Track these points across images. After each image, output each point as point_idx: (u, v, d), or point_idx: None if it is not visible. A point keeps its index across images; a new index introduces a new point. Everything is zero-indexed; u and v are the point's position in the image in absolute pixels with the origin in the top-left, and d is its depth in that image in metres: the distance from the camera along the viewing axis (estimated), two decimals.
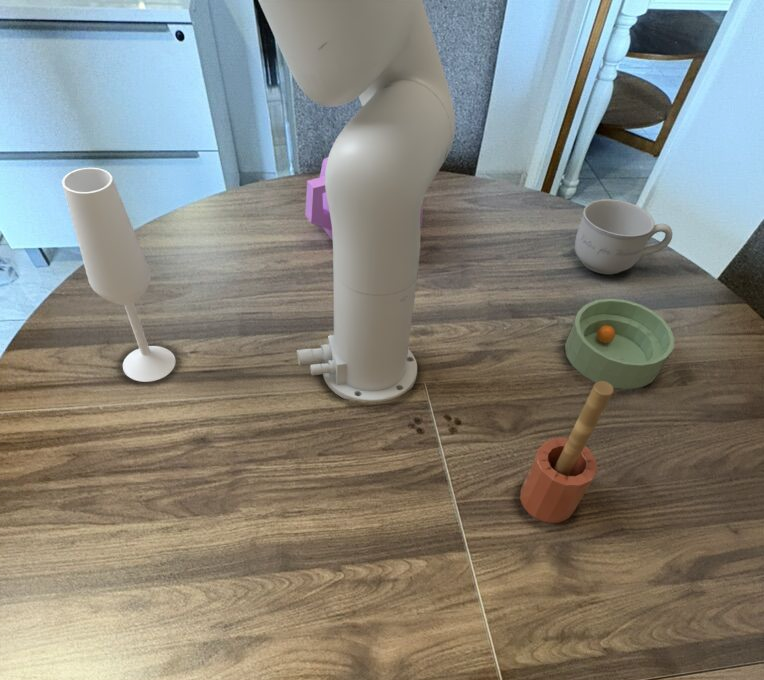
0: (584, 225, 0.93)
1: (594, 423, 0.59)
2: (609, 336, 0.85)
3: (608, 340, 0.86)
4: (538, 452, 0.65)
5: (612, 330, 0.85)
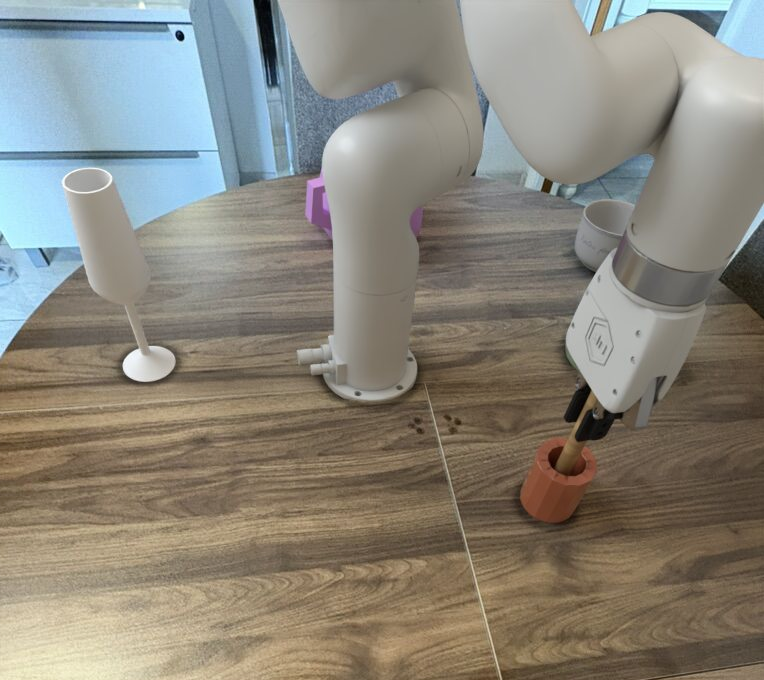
0: (584, 225, 0.93)
1: None
2: None
3: None
4: (538, 452, 0.65)
5: None
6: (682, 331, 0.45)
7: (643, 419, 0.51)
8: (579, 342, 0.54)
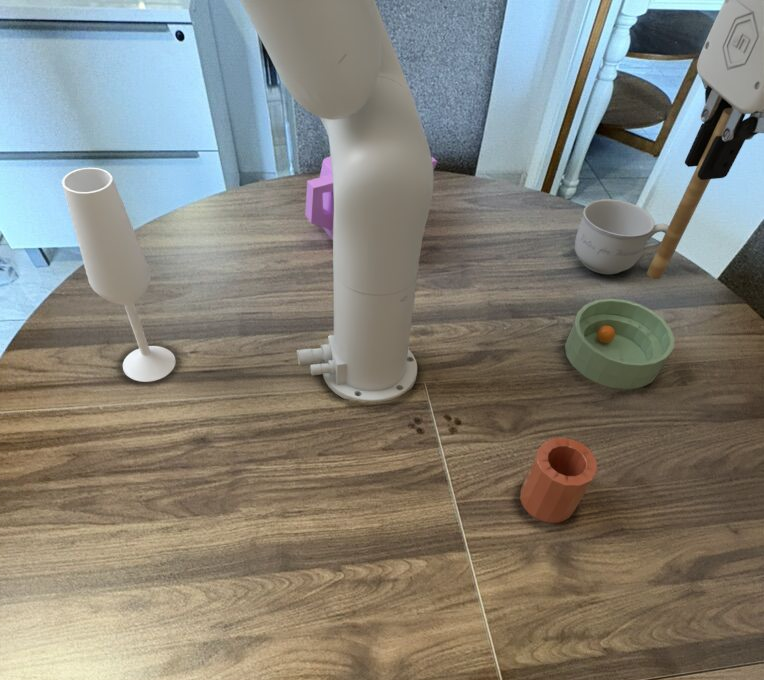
0: (584, 225, 0.93)
1: None
2: (609, 336, 0.85)
3: (608, 340, 0.86)
4: (538, 452, 0.65)
5: (612, 330, 0.85)
6: None
7: None
8: (714, 57, 0.57)
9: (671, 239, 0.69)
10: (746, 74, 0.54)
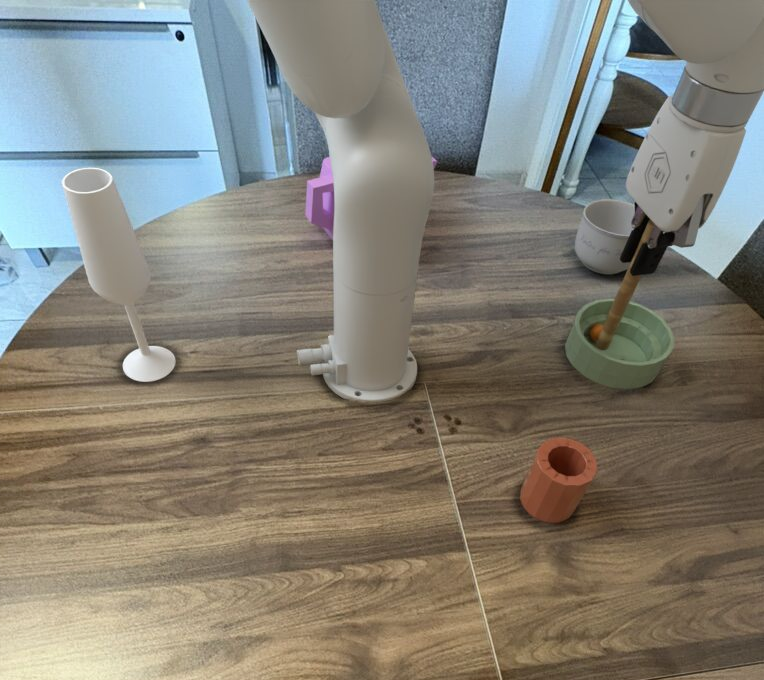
0: (584, 225, 0.93)
1: None
2: (597, 334, 0.85)
3: None
4: (538, 452, 0.65)
5: (597, 328, 0.85)
6: (727, 149, 0.58)
7: (692, 236, 0.65)
8: (639, 181, 0.67)
9: (613, 319, 0.80)
10: (662, 200, 0.64)
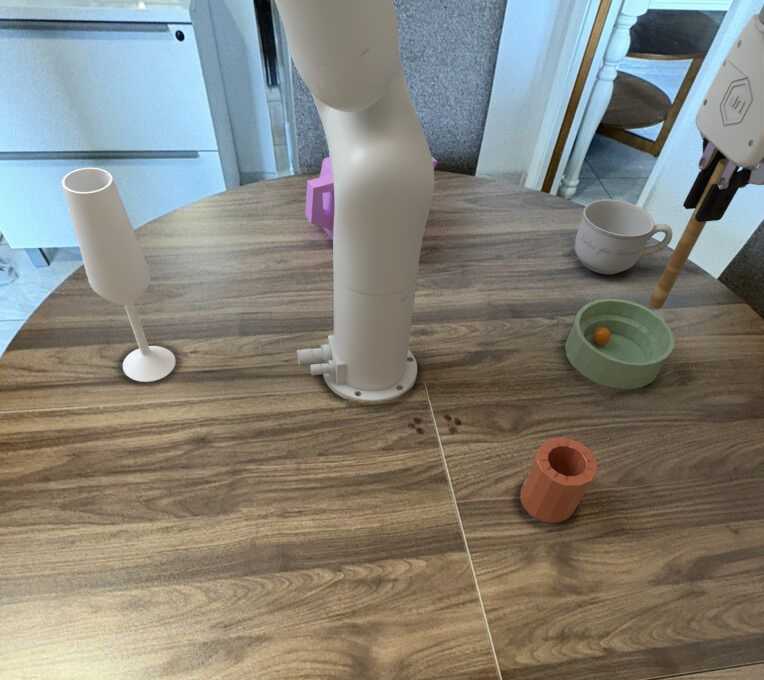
0: (584, 225, 0.93)
1: None
2: (601, 340, 0.85)
3: (601, 343, 0.86)
4: (538, 452, 0.65)
5: (604, 334, 0.85)
6: None
7: None
8: (712, 114, 0.62)
9: (671, 273, 0.75)
10: (741, 132, 0.59)
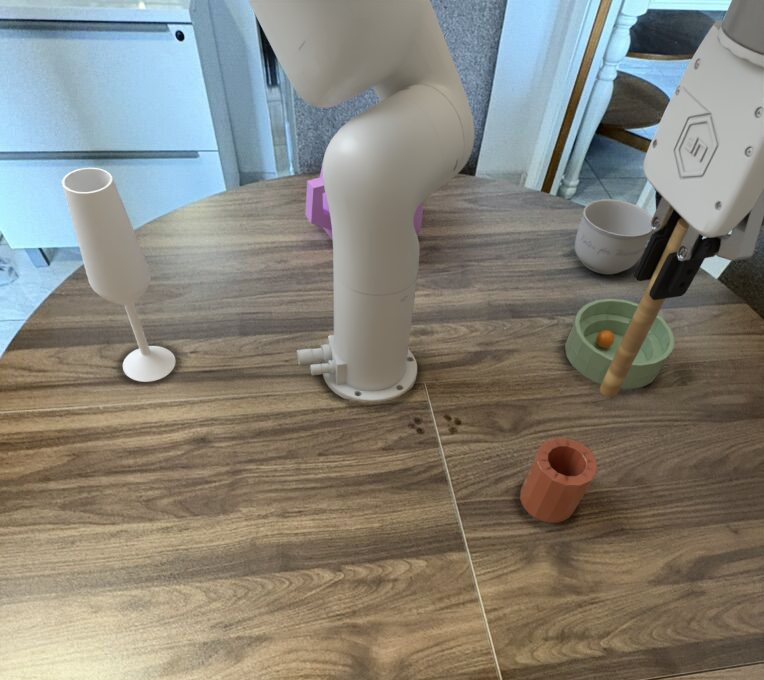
0: (584, 225, 0.93)
1: None
2: (603, 345, 0.85)
3: (602, 347, 0.86)
4: (538, 452, 0.65)
5: (608, 341, 0.85)
6: None
7: (749, 244, 0.42)
8: (664, 160, 0.44)
9: (624, 357, 0.57)
10: (704, 189, 0.41)
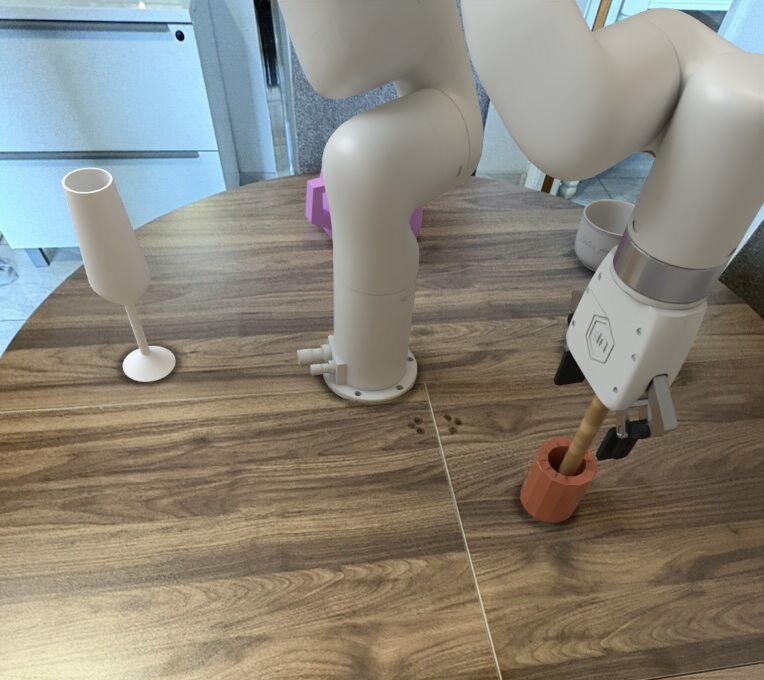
0: (584, 225, 0.93)
1: (599, 423, 0.59)
2: None
3: None
4: (538, 452, 0.65)
5: None
6: (683, 329, 0.45)
7: (669, 416, 0.48)
8: (579, 340, 0.53)
9: None
10: (606, 374, 0.51)
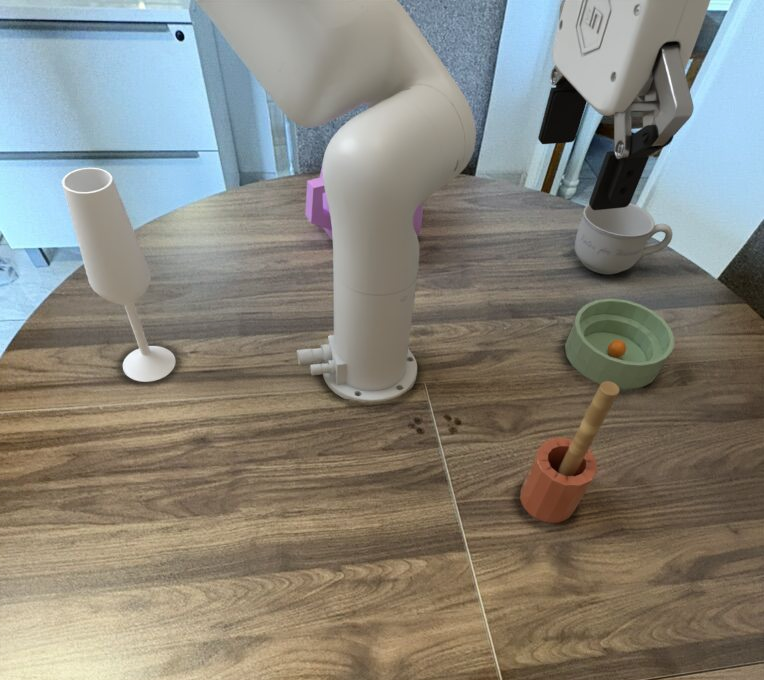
0: (584, 225, 0.93)
1: (599, 423, 0.59)
2: (608, 351, 0.85)
3: (608, 347, 0.85)
4: (538, 452, 0.65)
5: (612, 356, 0.85)
6: None
7: (683, 95, 0.37)
8: (568, 40, 0.43)
9: None
10: (601, 62, 0.40)
